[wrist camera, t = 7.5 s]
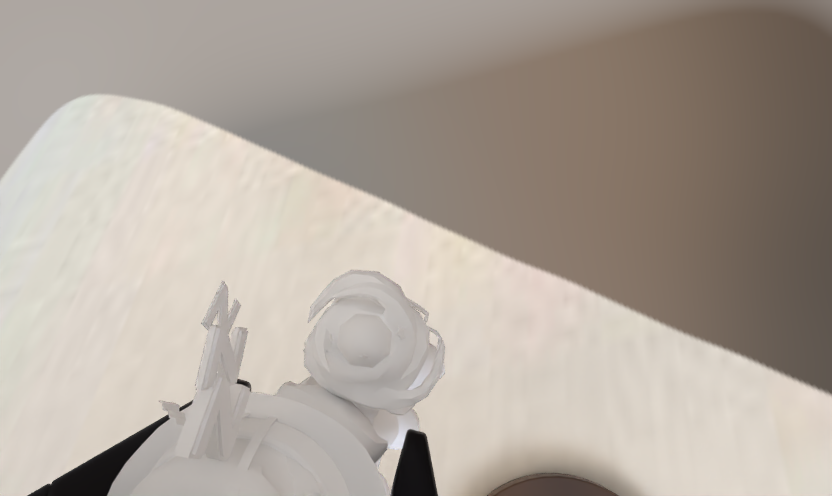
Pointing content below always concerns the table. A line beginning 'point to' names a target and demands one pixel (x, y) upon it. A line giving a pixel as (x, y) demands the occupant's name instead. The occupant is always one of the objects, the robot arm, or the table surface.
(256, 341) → the table surface
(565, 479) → the coaster
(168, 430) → the hat wearing toy figure
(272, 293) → the table surface
